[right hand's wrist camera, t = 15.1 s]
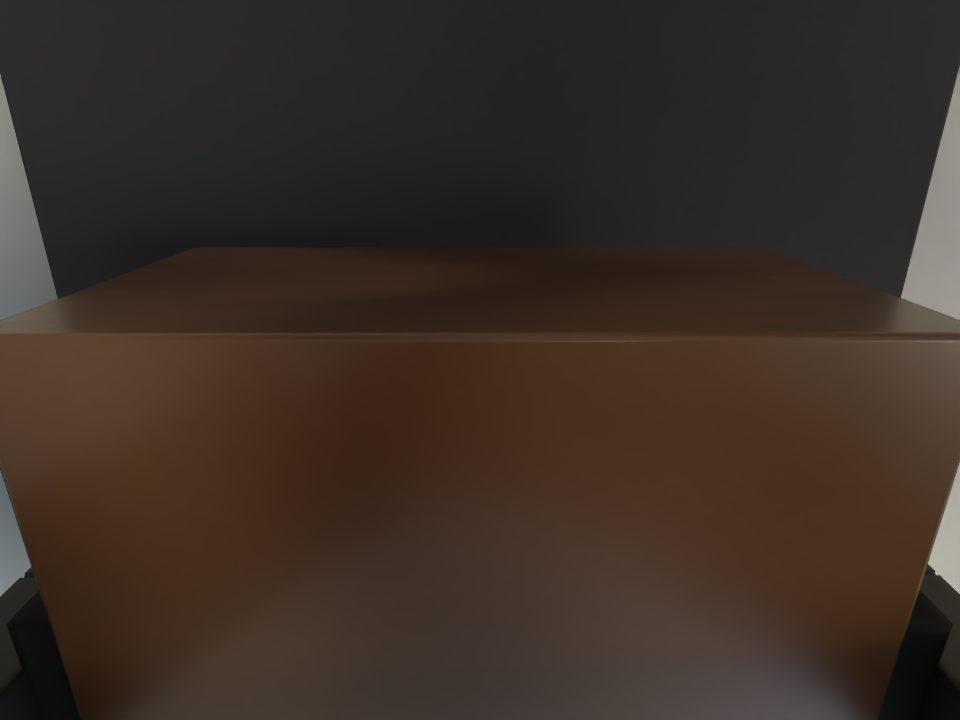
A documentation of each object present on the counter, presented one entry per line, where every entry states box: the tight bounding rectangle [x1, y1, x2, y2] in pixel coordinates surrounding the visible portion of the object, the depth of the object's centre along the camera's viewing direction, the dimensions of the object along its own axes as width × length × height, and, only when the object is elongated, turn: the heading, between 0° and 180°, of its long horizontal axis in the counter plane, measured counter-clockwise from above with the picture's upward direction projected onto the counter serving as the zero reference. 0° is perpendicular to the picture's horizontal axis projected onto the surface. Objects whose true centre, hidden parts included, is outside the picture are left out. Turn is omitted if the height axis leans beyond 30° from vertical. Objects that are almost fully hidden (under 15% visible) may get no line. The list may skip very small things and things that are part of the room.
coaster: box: [0, 0, 960, 299], centre depth 15 cm, size 20×20×1 cm
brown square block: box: [0, 247, 960, 720], centre depth 10 cm, size 10×10×5 cm
